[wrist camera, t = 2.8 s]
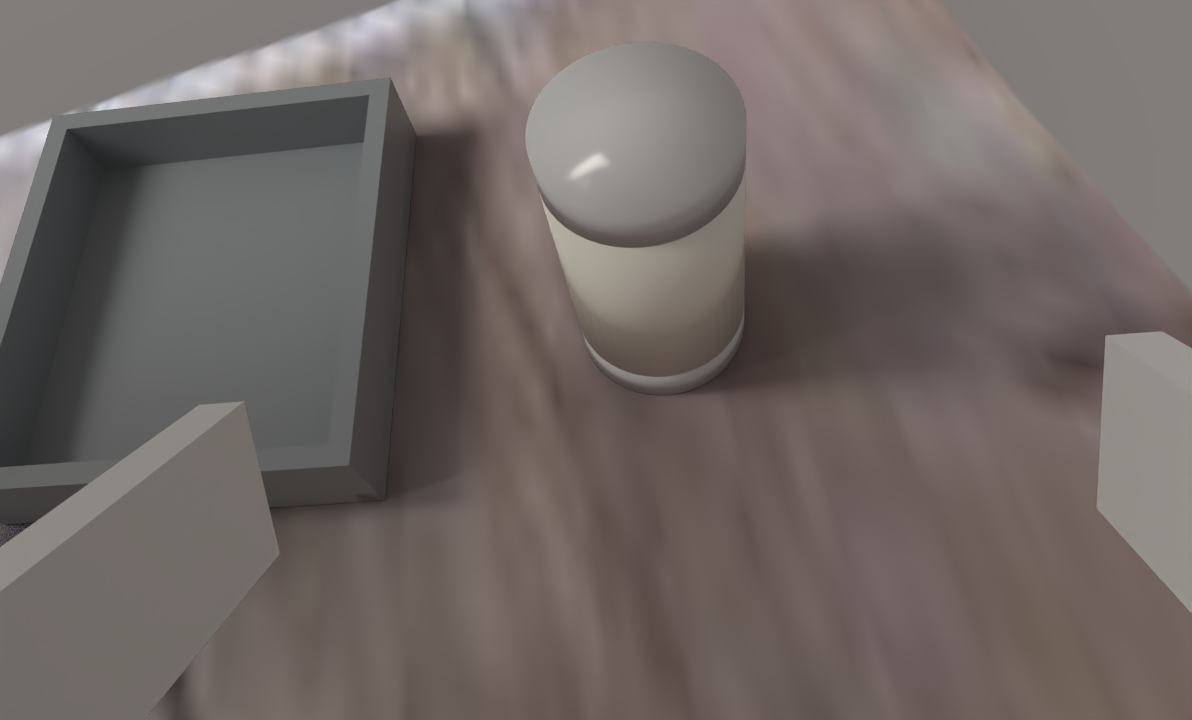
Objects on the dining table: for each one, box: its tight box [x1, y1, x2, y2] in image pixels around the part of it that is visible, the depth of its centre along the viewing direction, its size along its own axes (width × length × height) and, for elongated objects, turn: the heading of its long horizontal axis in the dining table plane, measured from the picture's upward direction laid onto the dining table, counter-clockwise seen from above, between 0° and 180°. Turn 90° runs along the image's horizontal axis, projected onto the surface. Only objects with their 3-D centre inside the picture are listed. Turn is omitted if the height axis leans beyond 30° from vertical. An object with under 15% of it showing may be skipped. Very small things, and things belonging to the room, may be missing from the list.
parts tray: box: [0, 78, 416, 525], centre depth 37 cm, size 15×17×4 cm
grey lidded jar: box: [525, 42, 746, 395], centre depth 30 cm, size 6×6×11 cm
